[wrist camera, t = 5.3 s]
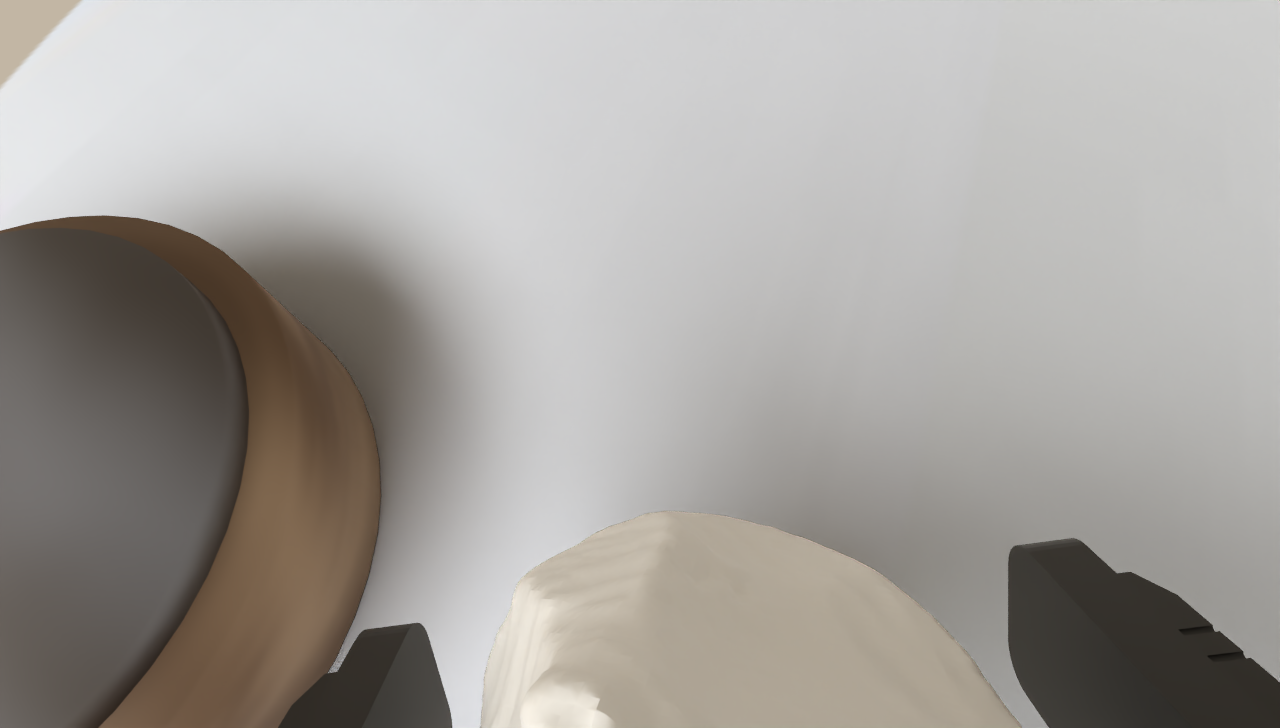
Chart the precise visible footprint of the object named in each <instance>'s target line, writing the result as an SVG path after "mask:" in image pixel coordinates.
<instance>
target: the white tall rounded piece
mask: <svg viewBox="0 0 1280 728" xmlns="http://www.w3.org/2000/svg"><path fill="white" fill-rule="evenodd" d="M480 728H1022V727H1021V725H1020V723H1019V722H1018V721H1017V720H1016V719H1015V717H1014V716H1013V715H1012V714H1011V713H1010V712H1009V710H1008V709H1007V708H1006V706H1005V705H1004V703H1003V702H1002V700H1001V699H1000V698H999V696H998V695H997V694H996V692H995V691H994V690H993V688H992V687H991V685H990V684H989V683H988V682H987V681H986V679H985V678H984V677H983V675H982V673H981V671H980V669H979V668H978V666H977V665H976V663H975V662H974V661H973V659H972V658H971V657H970V656H969V654H968V653H967V652H966V651H965V650H964V649H963V647H962V646H961V645H960V644H959V643H958V642H957V641H956V640H955V639H954V638H953V637H952V636H951V635H950V634H949V633H948V631H947V630H946V629H944V628H943V627H942V626H941V625H940V624H939V623H938V622H937V620H936V619H935V618H934V617H933V616H932V615H931V614H930V613H928V612H927V611H925V610H924V609H923V608H922V607H921V606H920V605H919V604H918V603H917V602H916V601H914V600H913V599H912V598H911V597H910V596H908V595H907V594H906V593H905V592H903V591H902V590H901V589H899V588H898V587H897V586H896V585H894V584H893V583H892V582H891V581H889V580H888V579H887V578H886V577H884V576H883V575H882V574H880V573H879V572H877V571H876V570H874V569H873V568H871V567H869V566H867V565H865V564H863V563H861V562H859V561H857V560H855V559H853V558H851V557H848V556H846V555H844V554H842V553H839V552H837V551H835V550H832V549H830V548H827V547H824V546H822V545H820V544H818V543H815V542H813V541H811V540H808V539H806V538H803V537H799V536H796V535H792V534H789V533H787V532H784V531H781V530H779V529H777V528H774V527H770V526H765V525H760V524H756V523H753V522H750V521H746V520H741V519H736V518H732V517H728V516H722V515H714V514H703V513H688V512H677V511H662V512H655V513H647V514H644V515H641V516H639V517H636V518H634V519H631V520H628V521H625V522H622V523H619V524H616V525H612V526H609V527H607V528H605V529H603V530H601V531H599V532H596V533H595V534H593V535H591V536H590V537H588V538H586V539H585V540H584V541H582V542H581V543H579V544H578V545H576V546H574V547H572V548H570V549H568V550H566V551H564V552H562V553H560V554H558V555H556V556H554V557H552V558H550V559H548V560H546V561H545V562H543V563H541V564H540V565H538V566H536V567H535V568H533V569H532V570H531V571H530V572H528V573H527V574H526V575H525V576H524V577H522V578H521V580H520V581H519V582H518V584H517V586H516V589H515V591H514V595H513V598H512V604H511V608H510V610H509V613H508V615H507V617H506V619H505V621H504V623H503V624H502V626H501V627H500V628H499V631H498V633H497V635H496V639H495V643H494V646H493V648H492V650H491V653H490V656H489V659H488V663H487V667H486V671H485V676H484V690H483V704H482V712H481V726H480Z"/></svg>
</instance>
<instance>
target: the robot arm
mask: <svg viewBox="0 0 1280 728" xmlns="http://www.w3.org/2000/svg"><path fill="white" fill-rule="evenodd" d="M1008 643H1009V651H1010V656H1011V660H1012V664H1013V667H1014V670H1015V673H1016V675H1017V678H1018V680H1019V682H1020V684H1021V686H1022V688H1023V690H1024V692H1025V693H1026V695H1027V696H1028V698H1029V699H1030V701H1031V702H1032V704H1033V705H1034V707H1035V708H1036V709H1037V711H1038V712H1039V714H1040V715H1041V717H1042V718H1043V720H1044V721H1045V722H1046V724H1047V725H1048V727H1049V728H1280V682H1278V681H1277V680H1276V679H1275V678H1274V677H1273V676H1271V675H1270V674H1269V673H1268V672H1267V671H1266V670H1264V669H1263V668H1262V667H1261V666H1260V665H1259V664H1257V663H1256V662H1255V661H1254V660H1253V659H1252V658H1247V659H1246V658H1245V656H1244V654H1243V651H1242V650H1241V649H1240V648H1239V647H1237V646H1236V645H1235V644H1234V643H1233V642H1232V641H1230V640H1229V639H1228V638H1227V637H1226V636H1225V635H1223V634H1222V633H1221V632H1220V631H1218V632H1215V631H1214V629H1213V626H1212V624H1211V623H1209V622H1208V621H1207V620H1206V619H1205V618H1204V617H1202V616H1201V615H1200V614H1199V613H1198V612H1196V611H1195V610H1194V609H1193V608H1192V607H1191V606H1189V605H1188V604H1187V603H1186V602H1185V601H1184V600H1182V599H1181V598H1180V597H1179V596H1178V595H1176V594H1174V593H1172V592H1170V591H1168V590H1166V589H1164V588H1162V587H1160V586H1158V585H1156V584H1154V583H1152V582H1150V581H1148V580H1146V579H1144V578H1142V577H1140V576H1138V575H1136V574H1134V573H1132V572H1125V573H1118V574H1117V573H1116V572H1115V571H1113V570H1112V569H1111V568H1110V567H1109V566H1108V565H1107V564H1106V563H1105V562H1104V561H1103V560H1102V559H1100V558H1099V557H1098V556H1097V555H1096V554H1095V553H1094V552H1093V551H1092V550H1091V549H1090V548H1088V547H1087V546H1086V545H1085V544H1084V543H1083V542H1081V541H1080V540H1078V539H1074V538H1071V539H1063V540H1055V541H1048V542H1040V543H1032V544H1025V545H1017V546H1014V547H1013V548H1012V549H1011V551H1010V554H1009V562H1008ZM278 728H452V719H451V713H450V709H449V705H448V702H447V698H446V695H445V691H444V688H443V685H442V681H441V678H440V675H439V671H438V668H437V664H436V661H435V658H434V654H433V651H432V648H431V644H430V641H429V637H428V635H427V632H426V630H425V628H424V627H423V626H422V625H421V624H420V623H412V624H405V625H397V626H389V627H382V628H374V629H367V630H364V631H362V632H361V633H360V634H359V636H358V637H357V639H356V640H355V642H354V644H353V645H352V647H351V649H350V651H349V652H348V654H347V656H346V658H345V659H344V661H343V663H342V665H341V666H340V668H339V670H338V672H334V673H327V674H324V675H323V676H322V677H321V678H320V679H319V680H318V681H317V682H316V683H315V684H314V685H312V686H311V687H310V688H309V689H308V690H307V691H306V692H305V693H304V694H303V695H302V696H301V697H300V698H299V699H298V700H297V701H296V702H295V703H293V704H292V706H291V707H290V709H289V710H288V712H287V714H286V715H285V717H284V719H283V720H282V722H281V723H280V725H279V727H278Z"/></svg>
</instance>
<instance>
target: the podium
mask: <svg viewBox="0 0 1280 728" xmlns="http://www.w3.org/2000/svg"><path fill="white" fill-rule="evenodd" d="M380 499H381V488H380V466H379V456H378V451H377V446H376V440H375V435H374V430H373V426H372V423H371V420H370V417H369V415H368V412H367V409H366V406H365V403H364V400H363V398H362V396H361V394H360V392H359V391H358V389H357V387H356V385H355V383H354V382H353V380H352V378H351V376H350V374H349V373H348V371H347V370H346V369H345V368H344V366H343V365H342V364H341V363H340V361H339V360H338V359H337V358H336V356H335V355H334V354H333V353H332V351H331V350H330V349H328V348H327V347H326V346H325V345H324V344H323V343H322V342H321V341H320V340H319V339H318V338H317V337H316V336H314V335H313V334H312V333H311V332H310V331H309V330H308V329H307V328H306V327H305V326H304V325H303V324H302V323H301V322H299V321H298V320H297V319H296V318H295V317H294V316H293V315H292V314H291V313H290V312H289V311H288V310H287V309H286V308H284V307H283V306H282V305H281V304H280V303H279V302H278V301H277V300H276V299H275V298H274V297H273V296H272V295H271V294H269V293H268V292H267V291H266V290H265V289H264V288H263V287H262V286H261V285H260V284H259V283H258V282H257V281H255V280H254V279H253V278H252V277H251V276H250V275H249V274H248V273H247V272H246V271H245V270H244V269H242V268H241V267H240V266H239V265H238V264H237V263H236V262H234V261H233V260H232V259H231V258H230V257H229V256H228V255H226V254H225V253H224V252H223V251H221V250H220V249H218V248H216V247H215V246H213V245H211V244H210V243H208V242H206V241H205V240H203V239H201V238H200V237H198V236H196V235H193V234H191V233H188V232H185V231H183V230H180V229H178V228H175V227H173V226H170V225H166V224H162V223H157V222H153V221H148V220H144V219H139V218H129V217H116V216H82V217H67V218H60V219H53V220H47V221H40V222H34V223H30V224H26V225H22V226H18V227H14V228H10V229H6V230H2V231H0V728H278V727H279V725H280V723H281V722H282V720H283V719H284V717H285V715H286V714H287V712H288V710H289V709H290V707H291V706H292V704H293V703H295V702H296V701H297V700H298V699H299V698H300V697H301V696H302V695H303V694H304V693H305V692H306V691H307V690H308V689H309V688H310V687H311V686H312V685H314V684H315V683H316V682H317V681H318V680H319V679H320V678H321V677H322V676H323V675H324V674H327V673H328V671H329V669H330V667H331V666H332V664H333V662H334V661H335V659H336V657H337V654H338V652H339V650H340V648H341V646H342V643H343V641H344V639H345V637H346V635H347V633H348V630H349V628H350V626H351V624H352V622H353V620H354V617H355V615H356V612H357V609H358V606H359V603H360V600H361V597H362V594H363V591H364V588H365V585H366V582H367V579H368V576H369V572H370V567H371V562H372V557H373V553H374V548H375V543H376V538H377V534H378V522H379V511H380Z"/></svg>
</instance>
